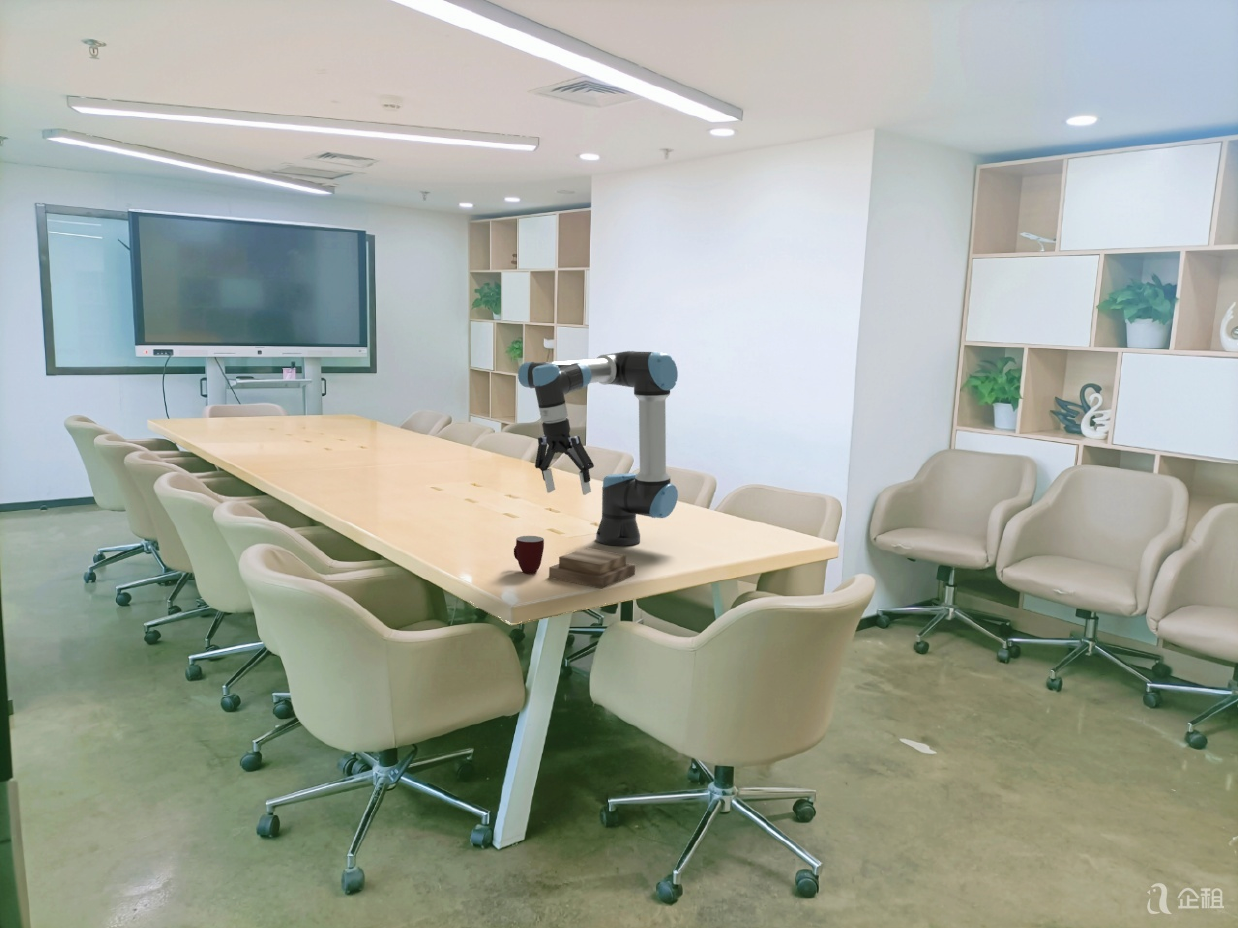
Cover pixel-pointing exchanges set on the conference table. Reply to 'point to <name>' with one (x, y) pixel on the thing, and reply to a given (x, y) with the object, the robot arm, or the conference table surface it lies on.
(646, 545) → the conference table surface
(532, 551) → the mug
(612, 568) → the stand
